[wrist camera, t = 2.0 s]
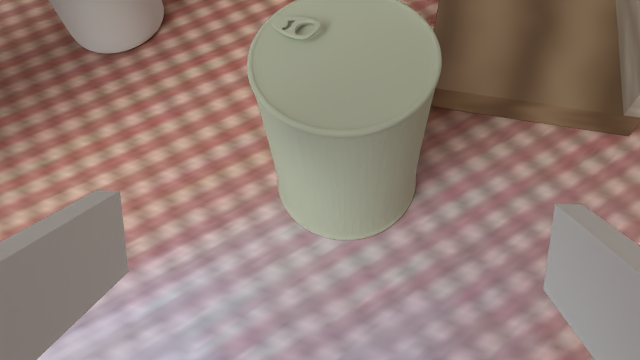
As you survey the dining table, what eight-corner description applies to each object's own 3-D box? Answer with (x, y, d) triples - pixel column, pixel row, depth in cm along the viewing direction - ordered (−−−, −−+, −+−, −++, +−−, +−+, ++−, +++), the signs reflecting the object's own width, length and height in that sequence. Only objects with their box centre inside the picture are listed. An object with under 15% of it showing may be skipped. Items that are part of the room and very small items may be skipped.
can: (329, 102, 36) (320, -43, 26) (441, 161, 33) (481, 24, 23) (249, 193, 33) (202, 69, 22) (366, 268, 30) (372, 165, 19)
